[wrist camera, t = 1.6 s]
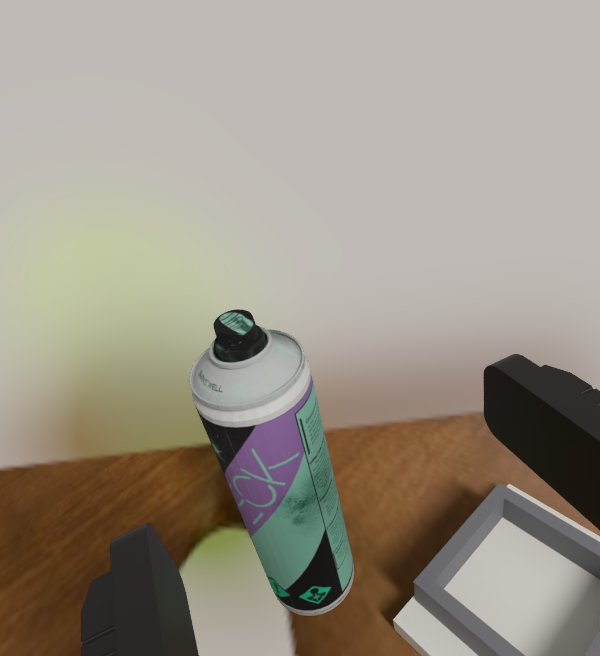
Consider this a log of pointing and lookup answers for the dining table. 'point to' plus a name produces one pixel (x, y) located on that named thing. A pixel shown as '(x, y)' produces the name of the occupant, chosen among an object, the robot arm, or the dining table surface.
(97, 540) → the dining table surface
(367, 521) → the dining table surface
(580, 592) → the board
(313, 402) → the spray can
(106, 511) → the dining table surface
